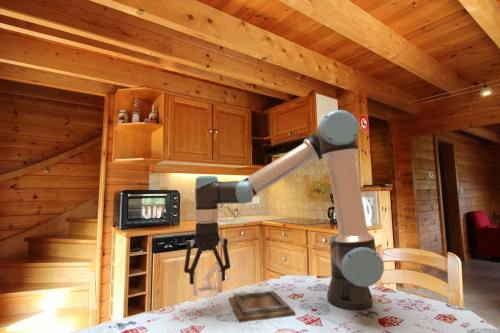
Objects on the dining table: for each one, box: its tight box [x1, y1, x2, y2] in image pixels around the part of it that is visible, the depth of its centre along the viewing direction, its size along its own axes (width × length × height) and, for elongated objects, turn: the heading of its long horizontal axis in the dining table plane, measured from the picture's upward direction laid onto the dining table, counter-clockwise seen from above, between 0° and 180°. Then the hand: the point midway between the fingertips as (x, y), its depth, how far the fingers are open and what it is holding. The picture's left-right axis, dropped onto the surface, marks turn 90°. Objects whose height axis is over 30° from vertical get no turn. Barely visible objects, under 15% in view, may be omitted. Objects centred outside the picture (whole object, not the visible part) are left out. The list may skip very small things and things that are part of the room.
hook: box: [195, 261, 220, 299], centre depth 89 cm, size 8×12×7 cm
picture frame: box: [228, 290, 296, 323], centre depth 92 cm, size 18×18×2 cm
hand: (207, 292), depth 89 cm, fingers closed on hook, 8 cm apart
